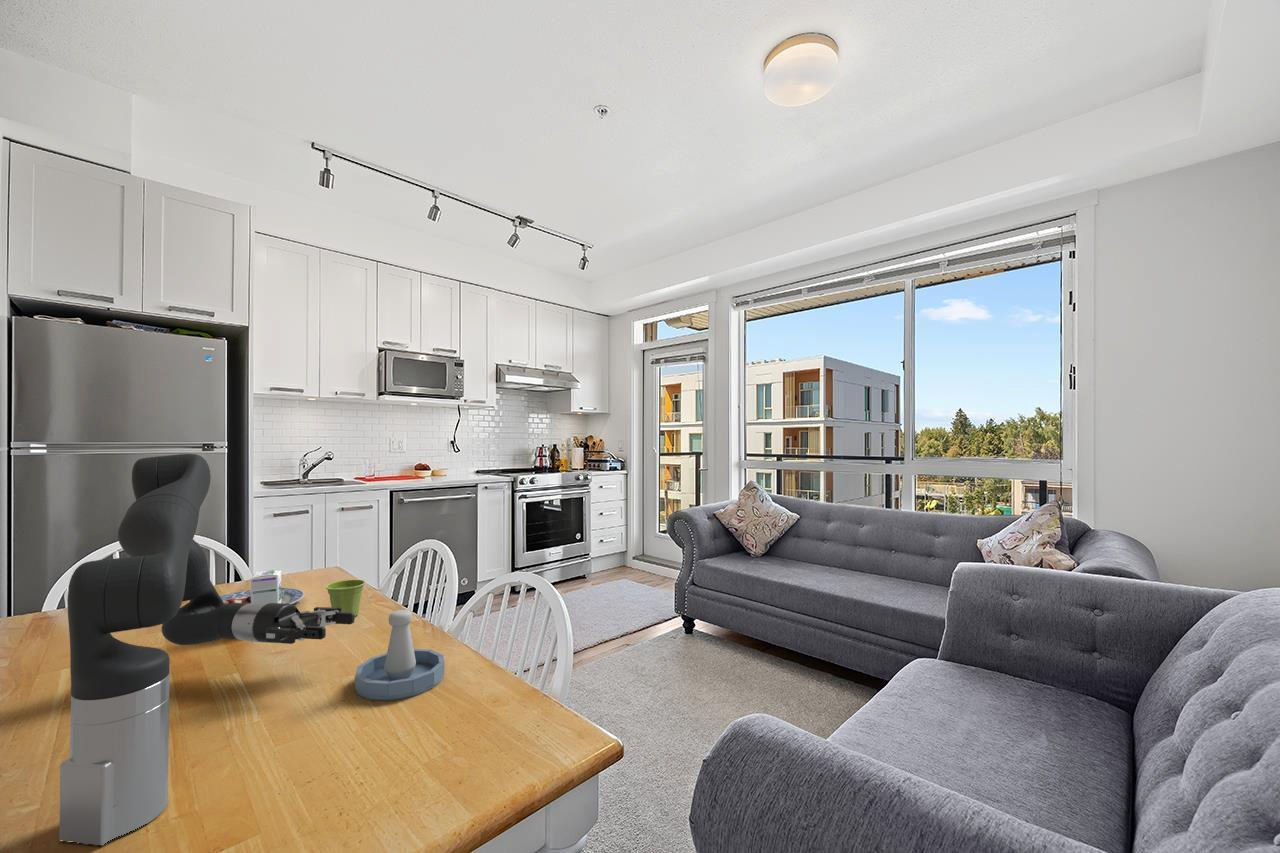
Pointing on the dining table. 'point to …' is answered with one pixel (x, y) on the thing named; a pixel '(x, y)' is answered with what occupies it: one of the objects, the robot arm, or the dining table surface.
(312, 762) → the dining table surface
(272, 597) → the syrup box
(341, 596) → the plant pot
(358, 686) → the bowl
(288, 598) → the ceramic plate
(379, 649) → the dining table surface
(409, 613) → the salt shaker
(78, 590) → the robot arm
